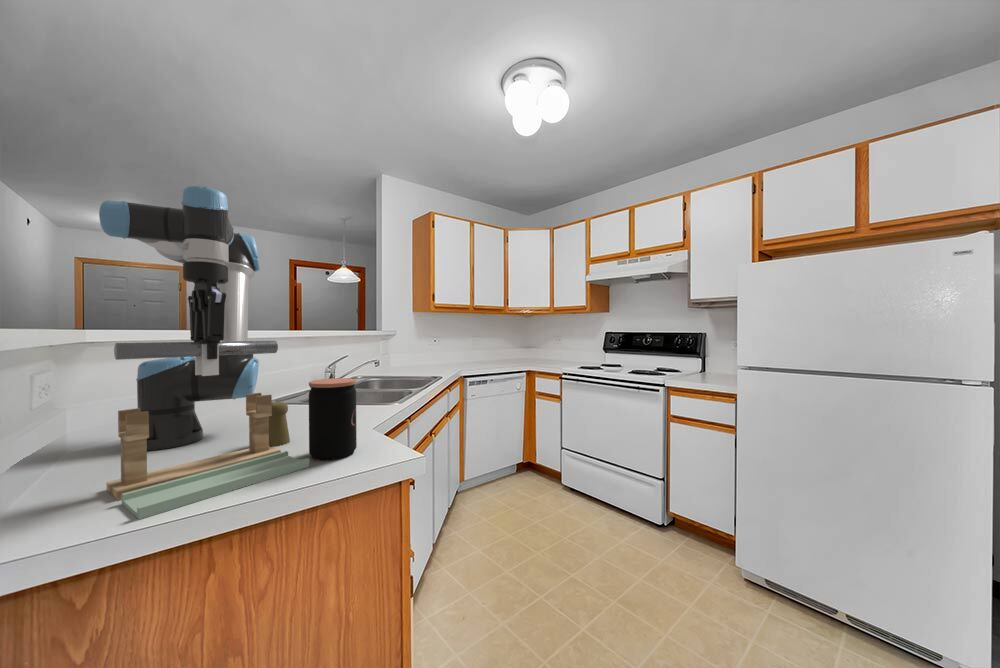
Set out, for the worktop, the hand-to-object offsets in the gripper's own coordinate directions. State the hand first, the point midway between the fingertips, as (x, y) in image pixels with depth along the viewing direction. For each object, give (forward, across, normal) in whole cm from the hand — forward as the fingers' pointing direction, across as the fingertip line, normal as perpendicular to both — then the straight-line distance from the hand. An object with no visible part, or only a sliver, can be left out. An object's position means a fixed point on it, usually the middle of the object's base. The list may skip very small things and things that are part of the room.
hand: (207, 374), depth 79 cm
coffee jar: (+21, +9, +23) cm, 32 cm away
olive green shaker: (+21, -12, +19) cm, 31 cm away
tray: (+21, +8, +1) cm, 23 cm away
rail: (-5, 0, 0) cm, 5 cm away
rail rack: (+21, -4, 0) cm, 21 cm away
